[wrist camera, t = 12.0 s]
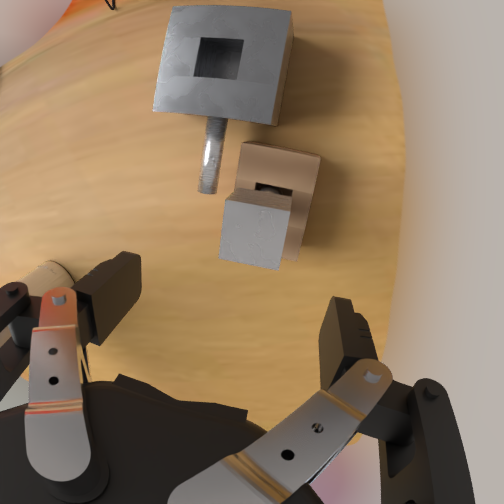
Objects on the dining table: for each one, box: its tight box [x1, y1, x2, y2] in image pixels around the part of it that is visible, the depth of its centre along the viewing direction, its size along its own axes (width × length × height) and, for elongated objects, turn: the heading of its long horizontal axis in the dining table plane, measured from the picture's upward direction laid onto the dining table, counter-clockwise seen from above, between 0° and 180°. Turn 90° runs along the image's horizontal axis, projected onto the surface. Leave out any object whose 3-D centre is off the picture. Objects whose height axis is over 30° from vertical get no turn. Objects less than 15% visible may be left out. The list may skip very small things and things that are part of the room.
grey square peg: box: [219, 184, 292, 270], centre depth 24 cm, size 4×4×12 cm
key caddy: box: [234, 141, 321, 261], centre depth 29 cm, size 10×7×4 cm
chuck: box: [153, 5, 294, 194], centre depth 25 cm, size 17×10×7 cm, turn 170°
